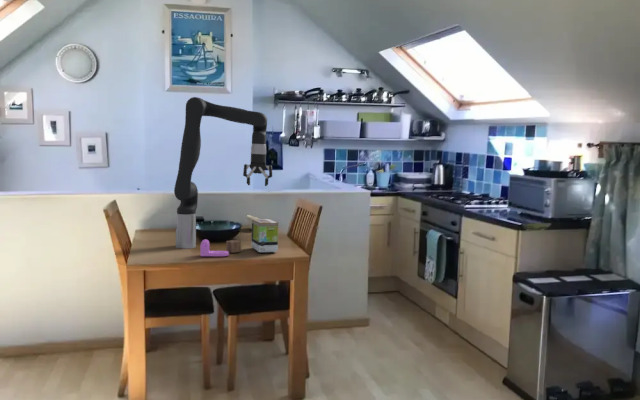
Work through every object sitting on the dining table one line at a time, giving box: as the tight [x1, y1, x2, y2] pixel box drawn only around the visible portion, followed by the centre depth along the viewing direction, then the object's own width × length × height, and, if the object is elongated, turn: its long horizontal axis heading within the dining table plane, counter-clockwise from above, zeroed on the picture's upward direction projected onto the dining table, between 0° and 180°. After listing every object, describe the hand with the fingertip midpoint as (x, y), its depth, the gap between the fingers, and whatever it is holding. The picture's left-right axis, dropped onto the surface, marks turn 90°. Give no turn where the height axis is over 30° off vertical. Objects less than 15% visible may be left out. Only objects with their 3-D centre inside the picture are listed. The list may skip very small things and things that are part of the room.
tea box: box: [251, 218, 279, 253], centre depth 269 cm, size 15×10×15 cm
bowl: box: [246, 214, 260, 230], centre depth 326 cm, size 15×14×10 cm
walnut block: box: [225, 239, 242, 254], centre depth 264 cm, size 5×5×5 cm
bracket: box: [199, 239, 230, 257], centre depth 255 cm, size 13×6×7 cm, turn 98°
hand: (257, 185), depth 270 cm, fingers open, 8 cm apart
